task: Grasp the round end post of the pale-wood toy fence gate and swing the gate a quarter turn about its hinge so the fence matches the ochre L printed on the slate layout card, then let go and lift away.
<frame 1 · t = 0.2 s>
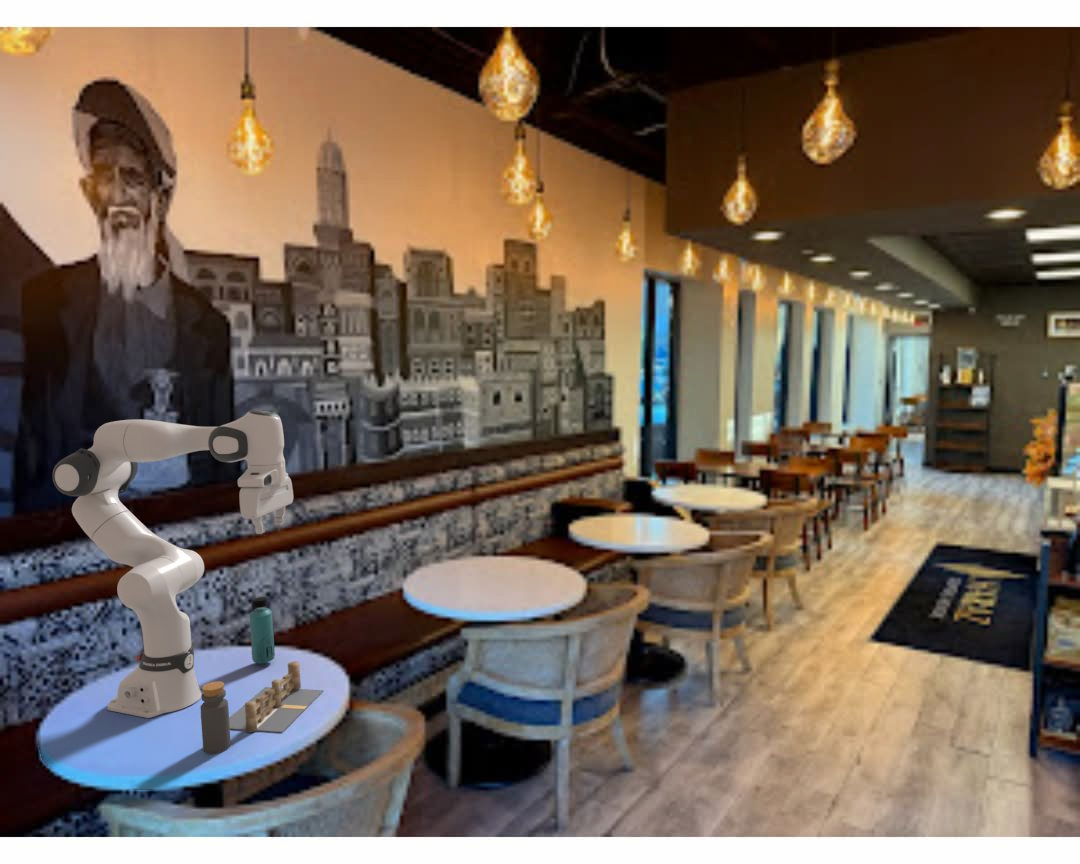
hand: (270, 528, 181), 47 cm above the table, fingers open, 8 cm apart
fence fixed: (277, 707, 185), resting on layout card
bottle: (217, 748, 166), on the table
beverage bottle: (263, 664, 213), on the table
fence gate: (288, 681, 191), point 4 cm above the table, hinge at 0.0°
layout card: (273, 709, 184), on the table
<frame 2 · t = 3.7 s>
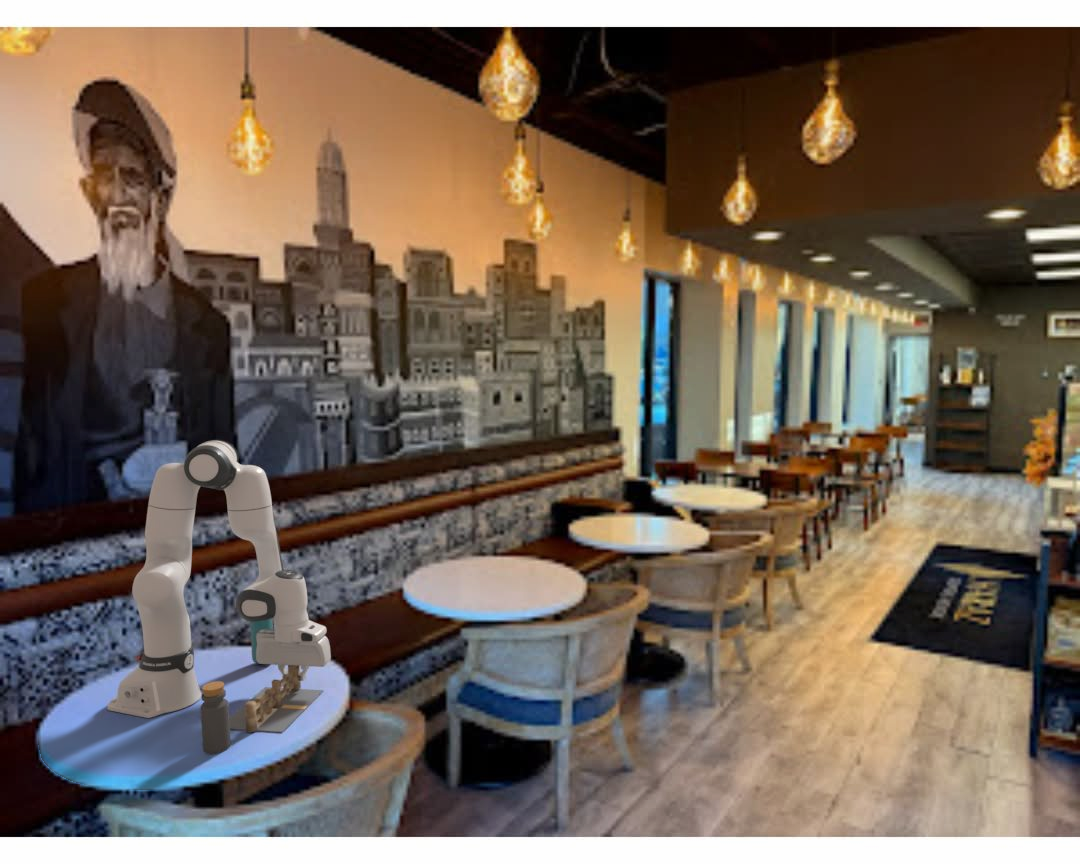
hand: (294, 679, 194), 3 cm above the table, fingers closed on fence gate, 3 cm apart
fence gate: (288, 681, 191), point 4 cm above the table, hinge at 0.0°, touching gripper
everything else where it was.
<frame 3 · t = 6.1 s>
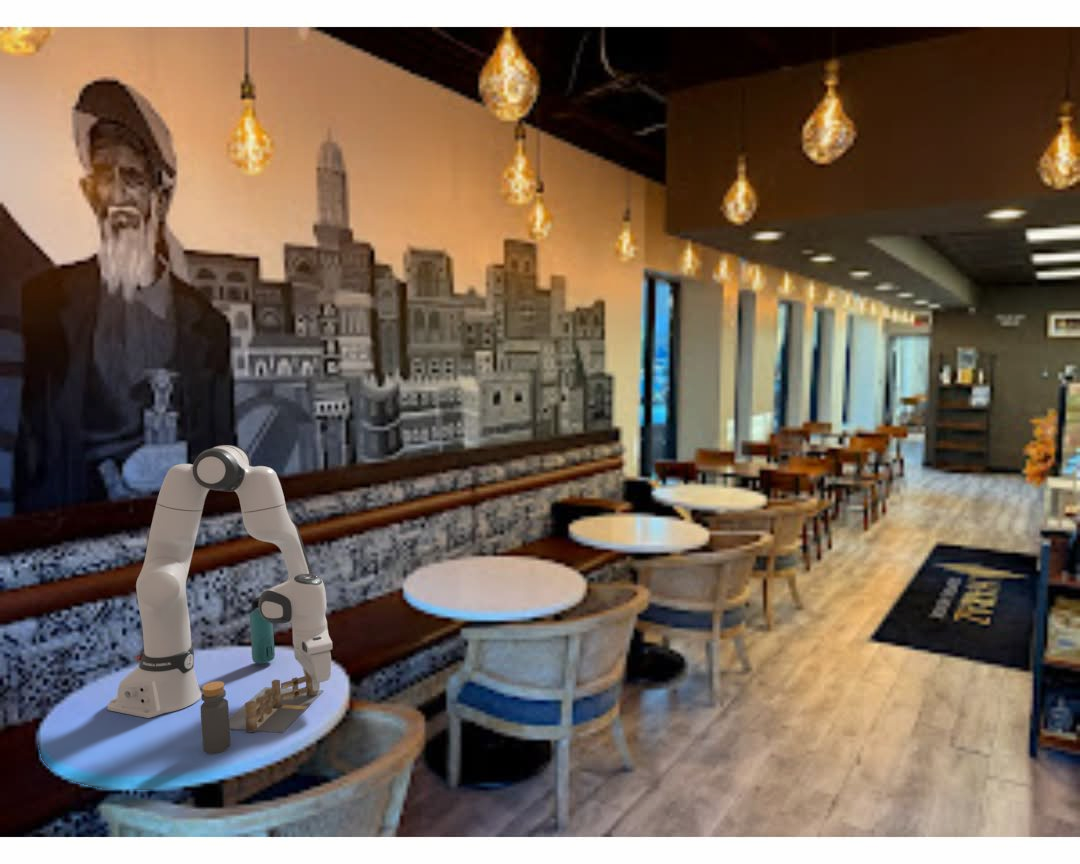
hand: (312, 685, 190), 3 cm above the table, fingers open, 4 cm apart
fence gate: (299, 684, 189), point 4 cm above the table, hinge at -41.0°, touching gripper
everything else where it was.
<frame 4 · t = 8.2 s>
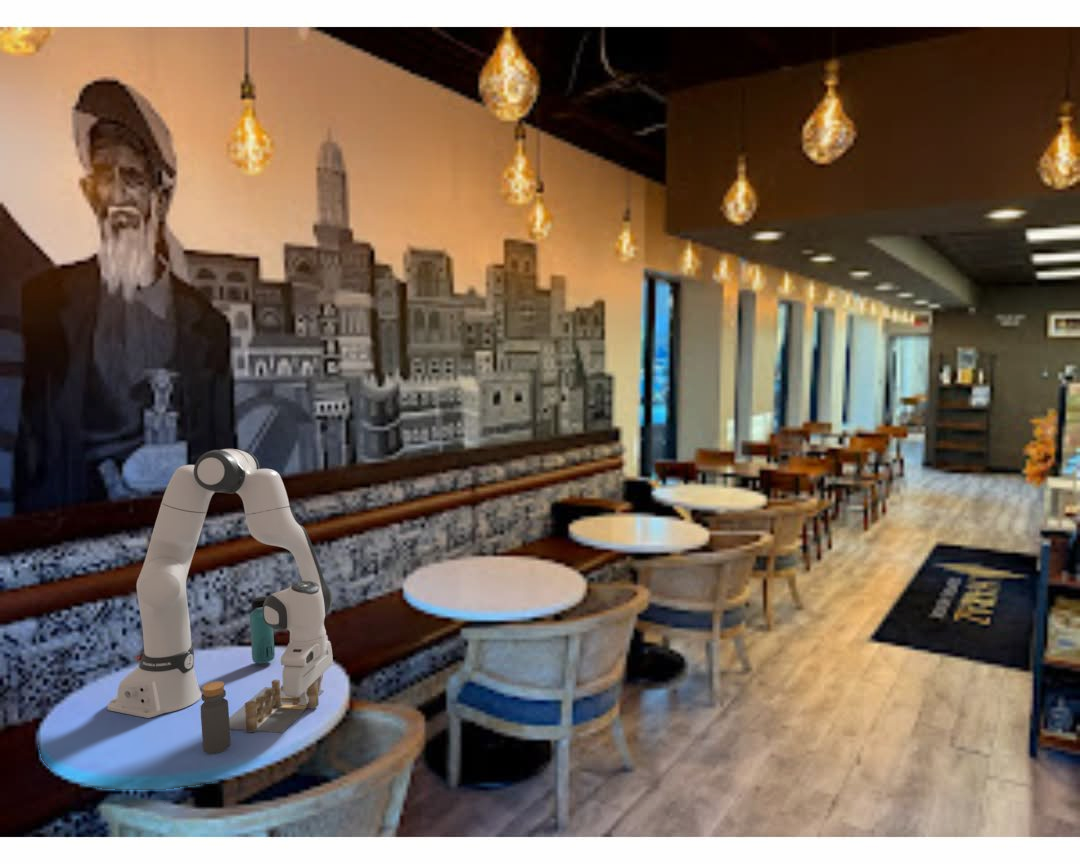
hand: (311, 697, 184), 3 cm above the table, fingers open, 5 cm apart
fence gate: (299, 692, 184), point 4 cm above the table, hinge at -85.9°
everything else where it was.
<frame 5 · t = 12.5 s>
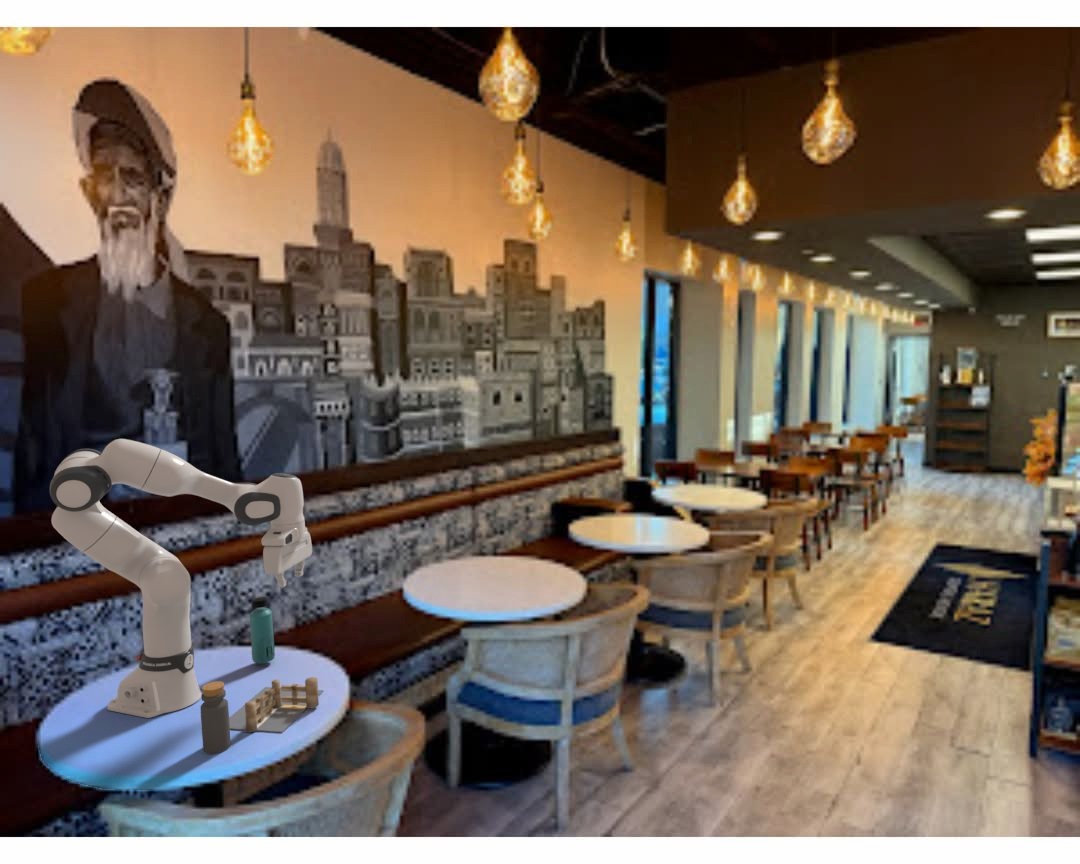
hand: (290, 581, 196), 29 cm above the table, fingers open, 8 cm apart
nothing on the table moved.
at the end: fence gate at -86° (first picture: +0°); the gripper is holding nothing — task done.
